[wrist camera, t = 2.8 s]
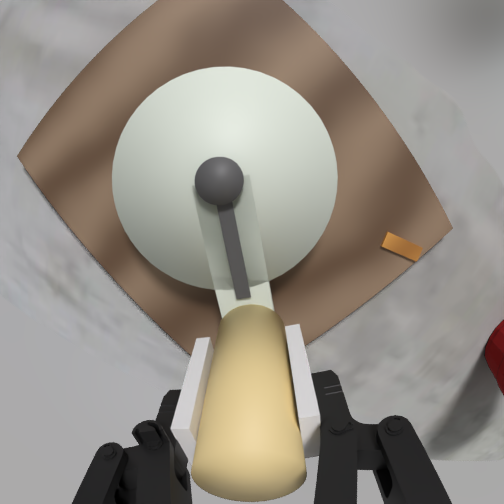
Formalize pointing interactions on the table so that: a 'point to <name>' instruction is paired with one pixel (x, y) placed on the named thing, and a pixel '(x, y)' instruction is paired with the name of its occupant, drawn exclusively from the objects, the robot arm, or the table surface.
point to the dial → (232, 249)
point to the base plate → (299, 79)
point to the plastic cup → (496, 354)
